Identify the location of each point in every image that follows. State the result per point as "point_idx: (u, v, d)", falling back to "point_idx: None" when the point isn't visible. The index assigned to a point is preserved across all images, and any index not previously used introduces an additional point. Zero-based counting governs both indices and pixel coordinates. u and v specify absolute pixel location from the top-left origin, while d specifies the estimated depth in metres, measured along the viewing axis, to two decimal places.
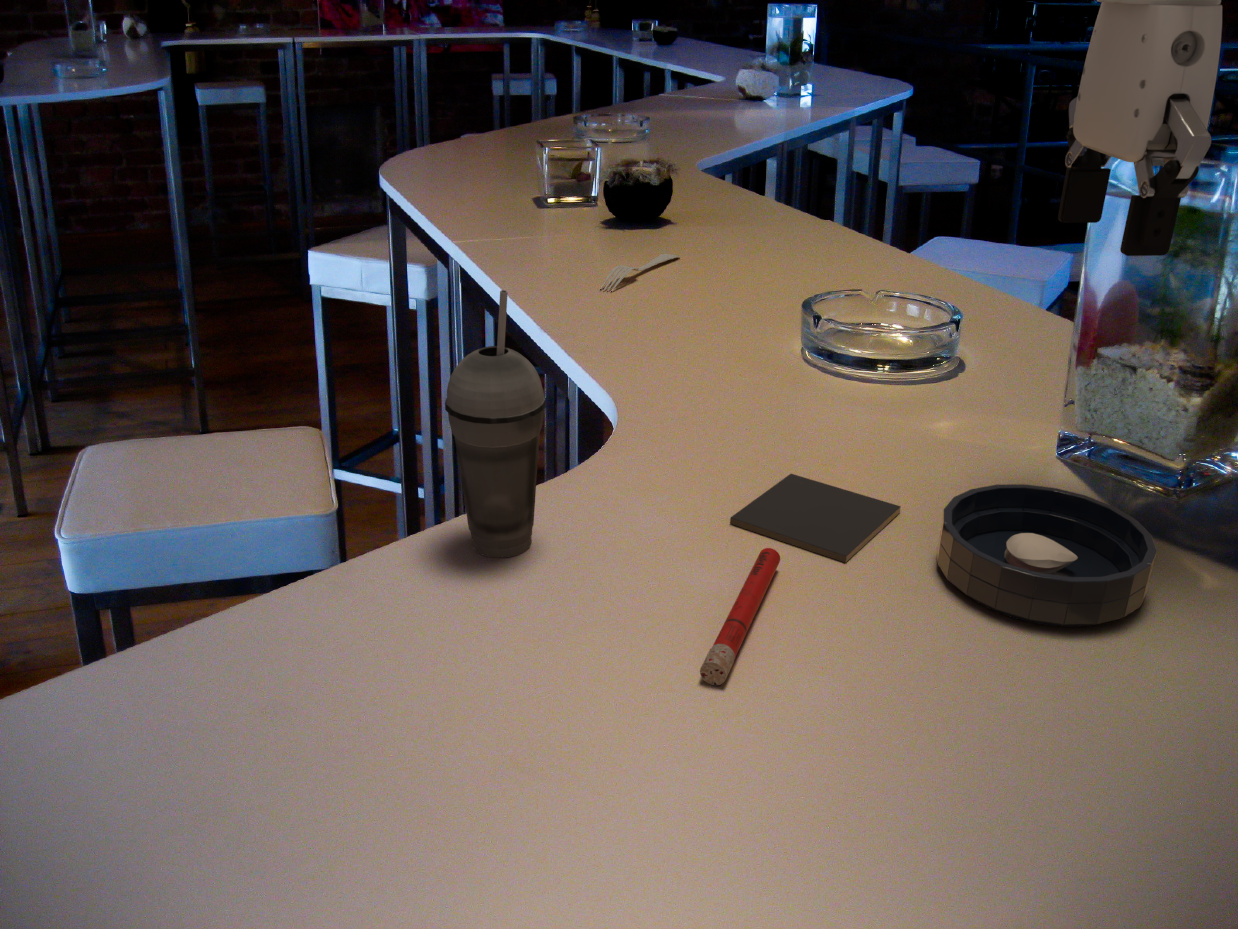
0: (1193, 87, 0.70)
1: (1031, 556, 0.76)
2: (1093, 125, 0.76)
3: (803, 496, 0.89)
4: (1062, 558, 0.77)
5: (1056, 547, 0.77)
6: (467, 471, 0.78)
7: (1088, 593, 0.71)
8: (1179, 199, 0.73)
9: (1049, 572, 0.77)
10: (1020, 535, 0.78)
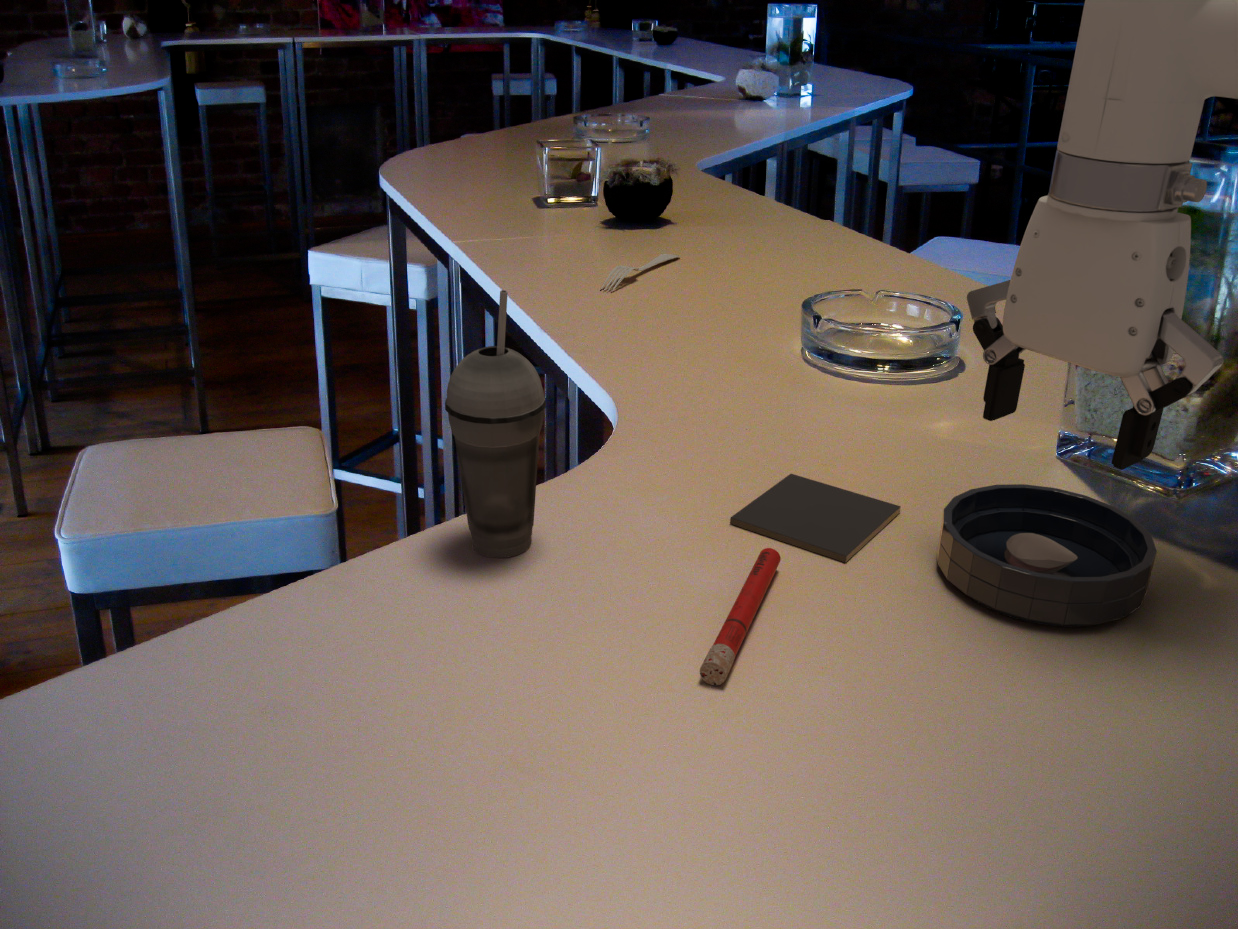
0: (1177, 300, 0.66)
1: (1031, 556, 0.76)
2: (1049, 333, 0.70)
3: (803, 496, 0.89)
4: (1062, 558, 0.77)
5: (1056, 547, 0.77)
6: (467, 471, 0.78)
7: (1088, 593, 0.71)
8: None
9: (1049, 572, 0.77)
10: (1020, 535, 0.78)
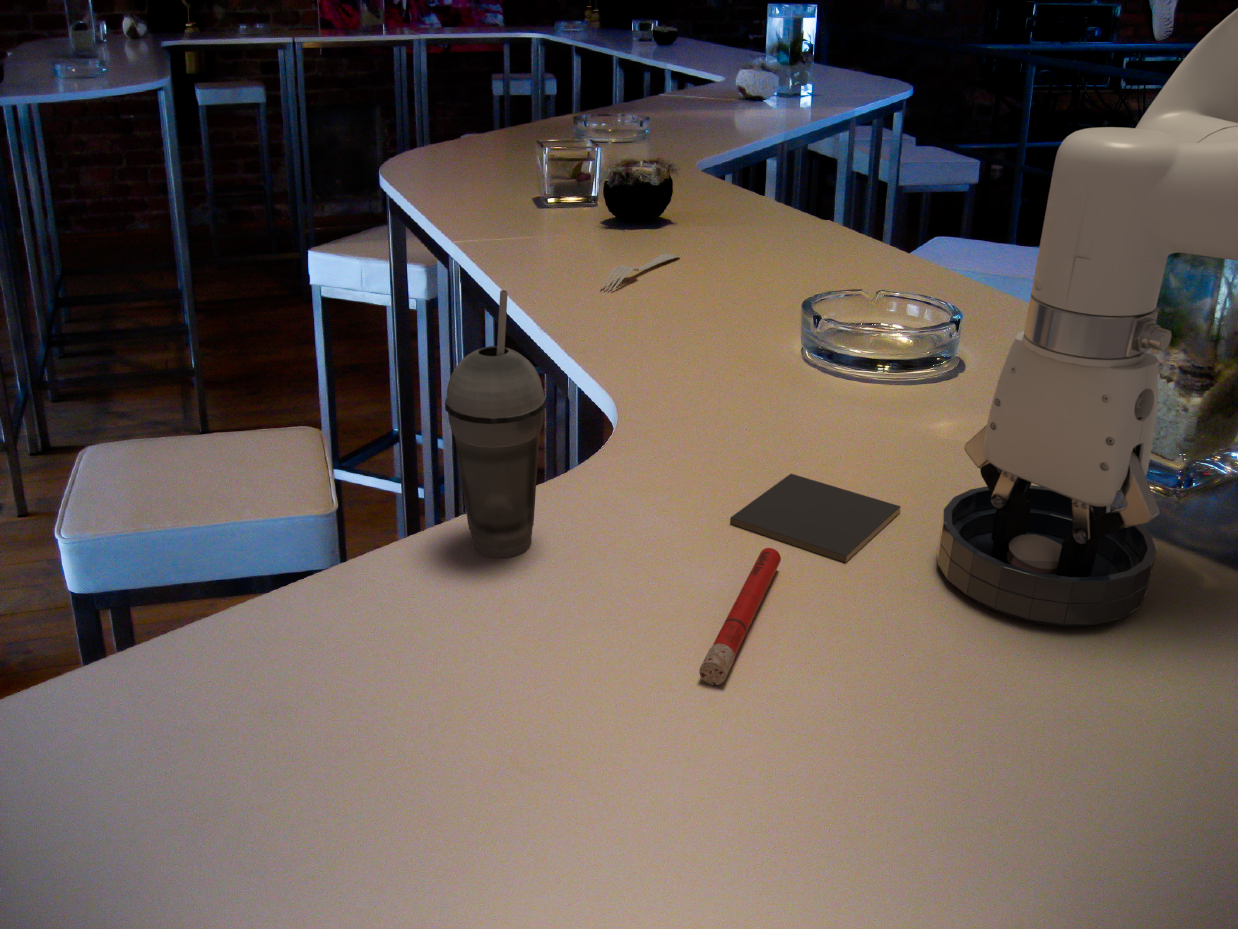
0: (1146, 436, 0.70)
1: (1034, 557, 0.76)
2: (1027, 461, 0.74)
3: (803, 496, 0.89)
4: None
5: (1058, 548, 0.77)
6: (467, 471, 0.78)
7: (1088, 593, 0.71)
8: None
9: (1052, 573, 0.77)
10: (1022, 536, 0.78)
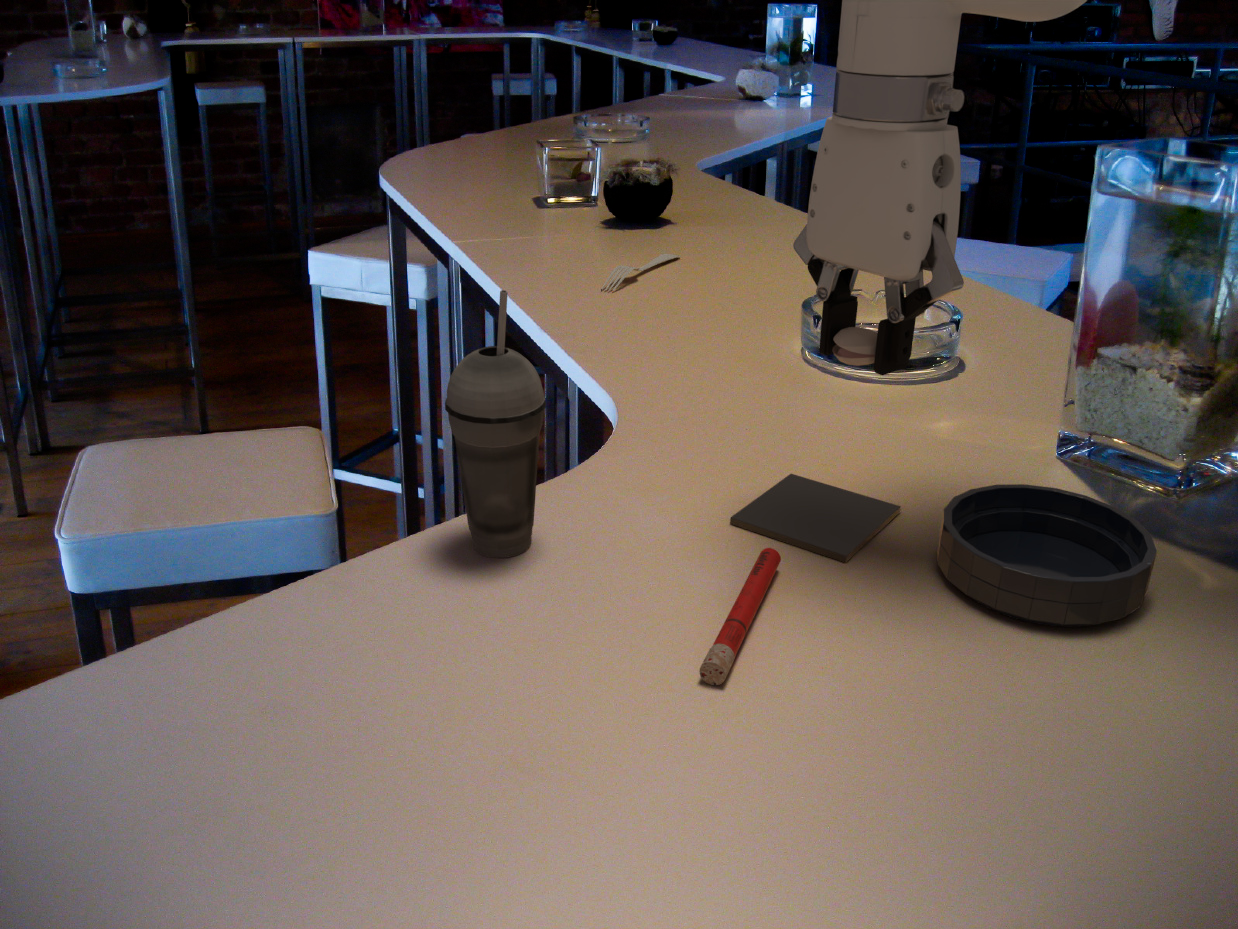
0: (949, 206, 0.72)
1: (854, 343, 0.77)
2: (842, 243, 0.75)
3: (803, 496, 0.89)
4: None
5: None
6: (467, 471, 0.78)
7: (1088, 593, 0.71)
8: None
9: (872, 360, 0.78)
10: (847, 328, 0.79)
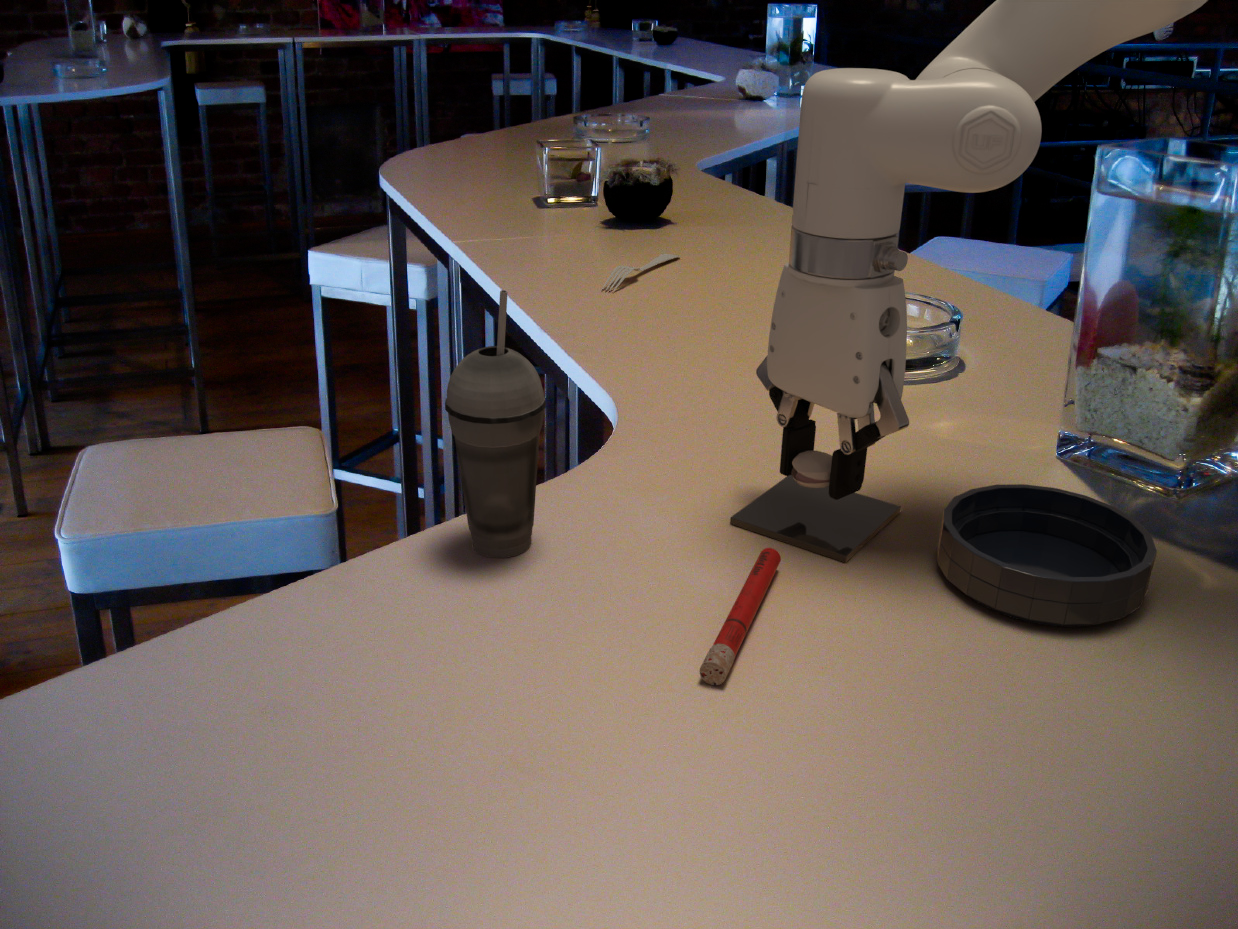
0: (895, 352, 0.77)
1: (810, 469, 0.83)
2: (799, 379, 0.81)
3: (803, 496, 0.89)
4: None
5: None
6: (467, 471, 0.78)
7: (1088, 593, 0.71)
8: None
9: (827, 484, 0.83)
10: (805, 452, 0.85)
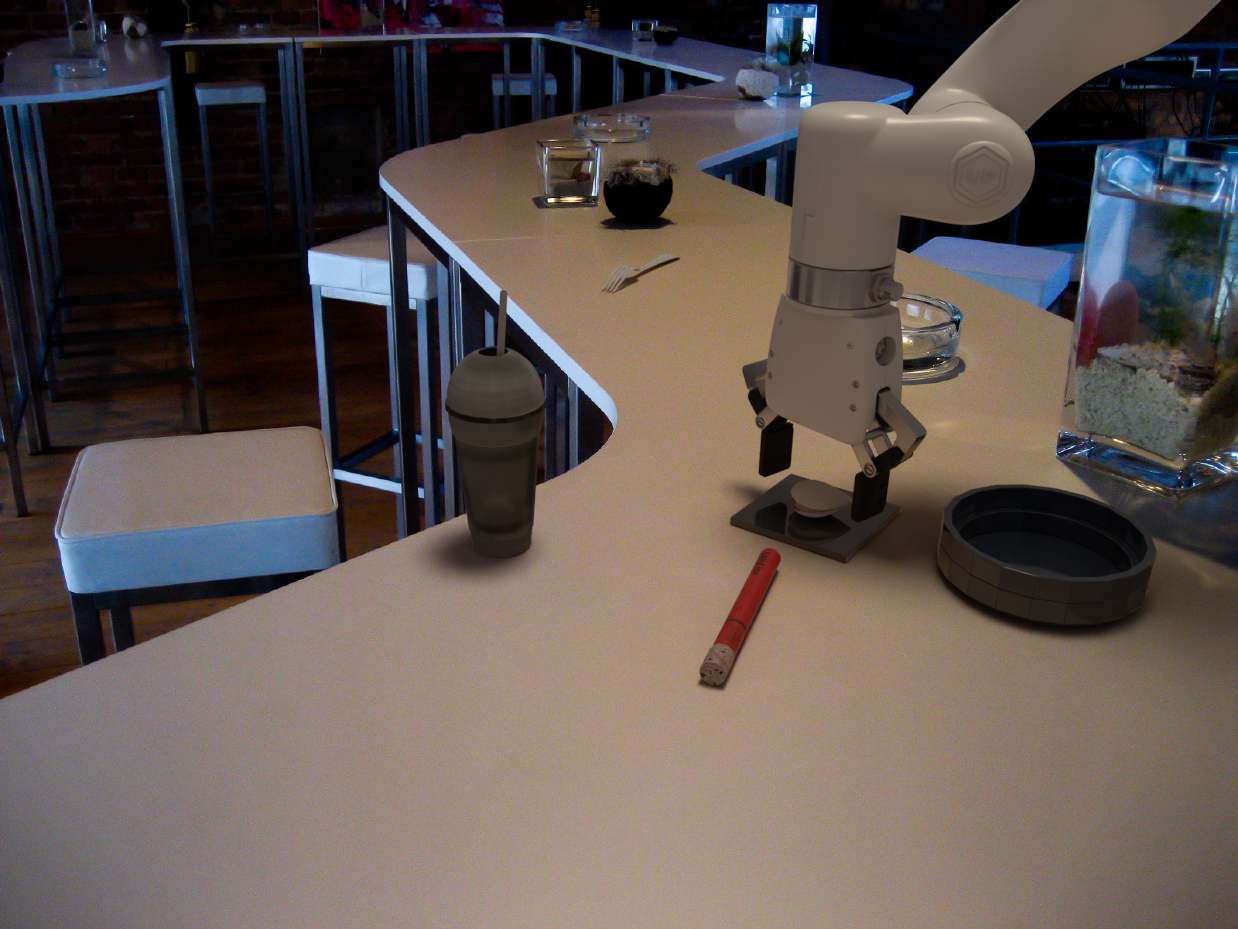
0: (892, 380, 0.78)
1: (808, 499, 0.84)
2: (796, 406, 0.82)
3: None
4: (837, 501, 0.84)
5: (833, 491, 0.85)
6: (467, 471, 0.78)
7: (1088, 593, 0.71)
8: None
9: (825, 514, 0.84)
10: (803, 481, 0.86)
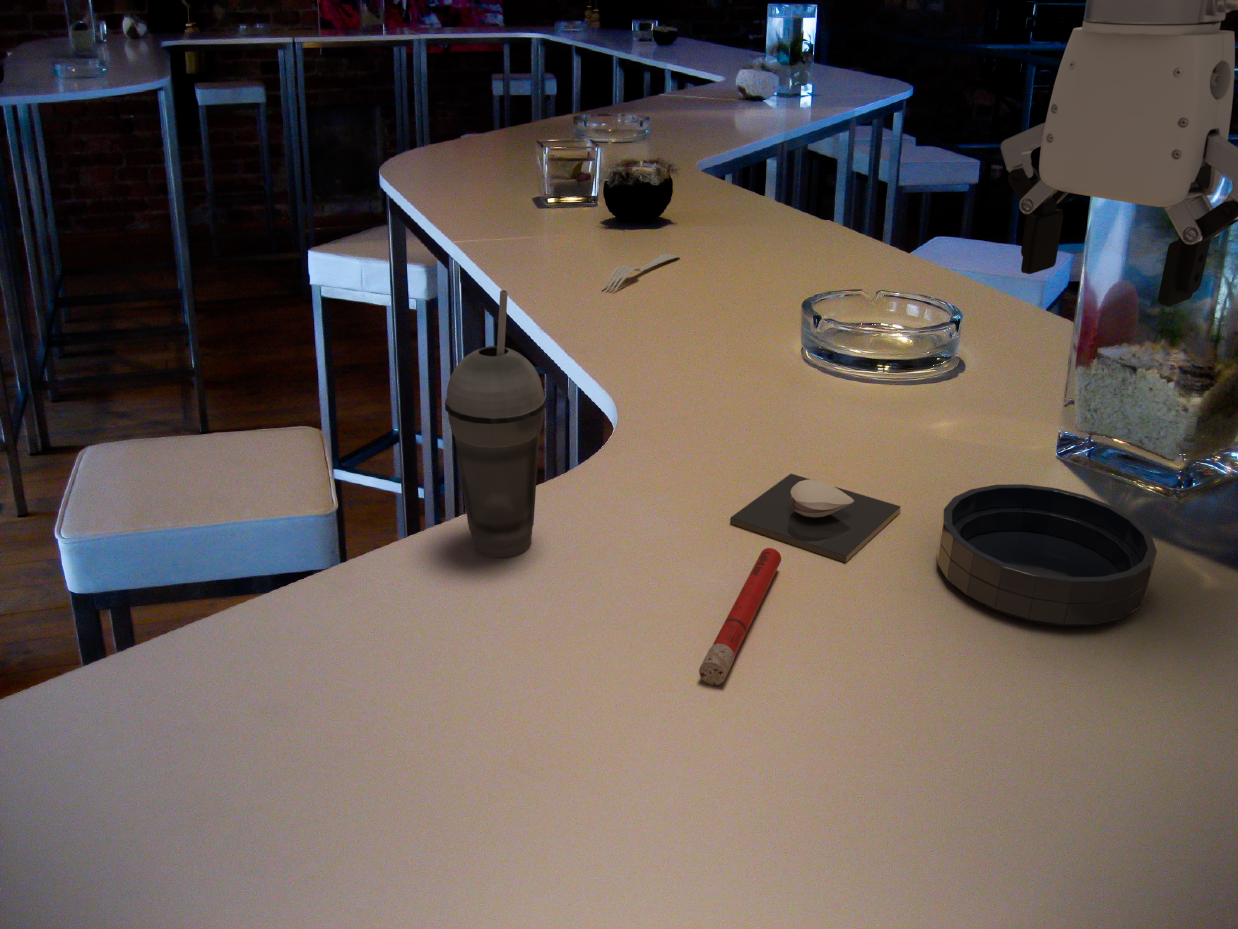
0: (1222, 120, 0.64)
1: (808, 499, 0.84)
2: (1089, 169, 0.68)
3: None
4: (837, 501, 0.84)
5: (833, 491, 0.85)
6: (467, 471, 0.78)
7: (1088, 593, 0.71)
8: None
9: (825, 514, 0.84)
10: (803, 481, 0.86)
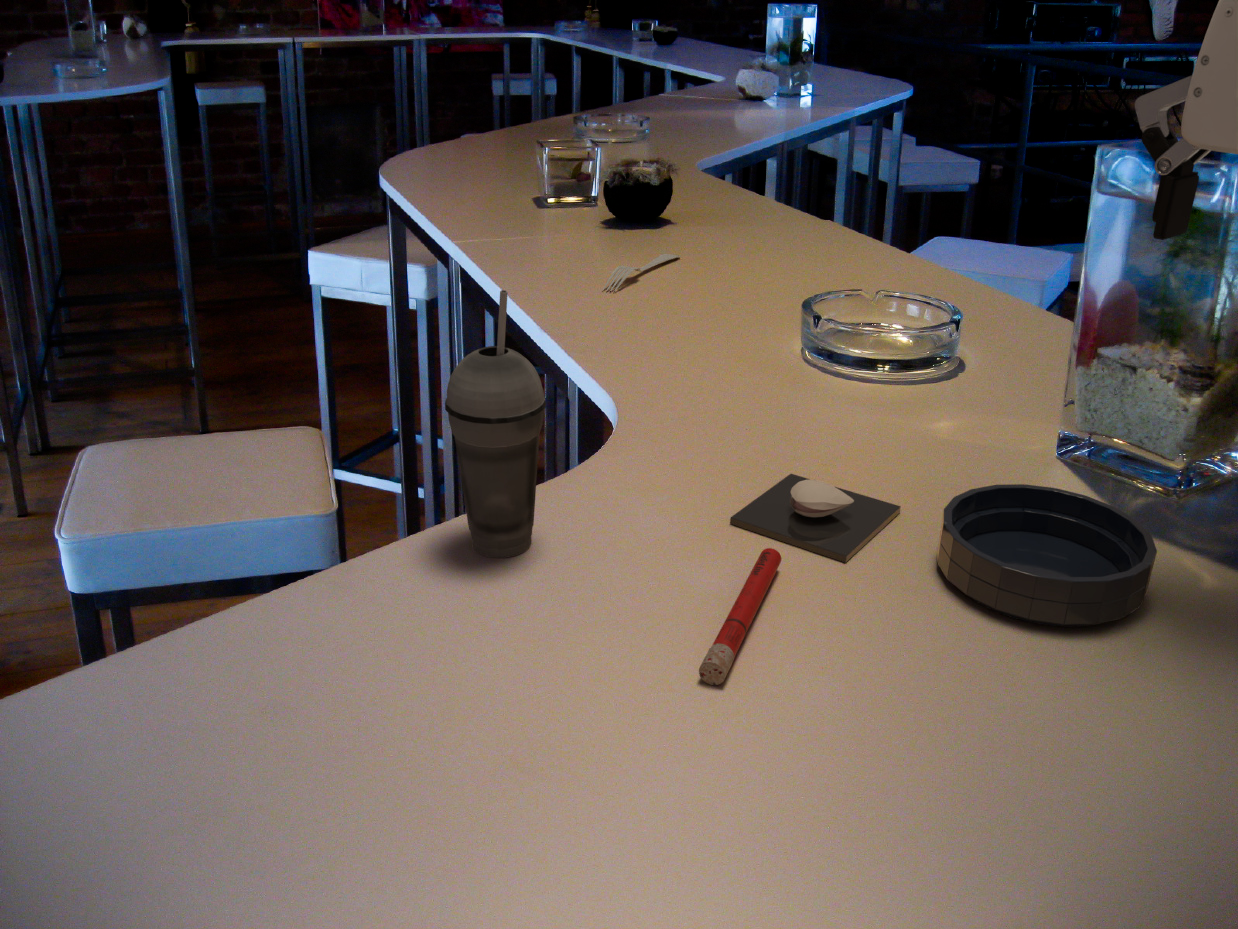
0: None
1: (808, 499, 0.84)
2: None
3: None
4: (837, 501, 0.84)
5: (833, 491, 0.85)
6: (467, 471, 0.78)
7: (1088, 593, 0.71)
8: None
9: (825, 514, 0.84)
10: (803, 481, 0.86)
